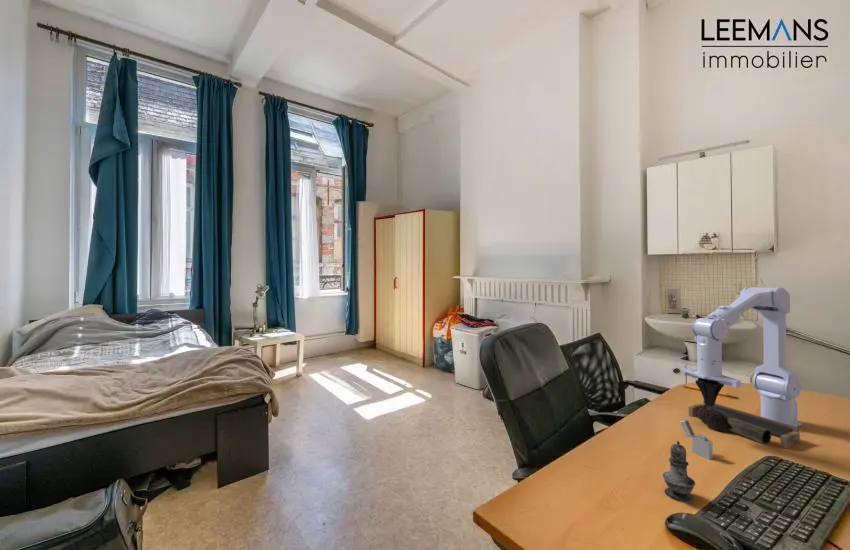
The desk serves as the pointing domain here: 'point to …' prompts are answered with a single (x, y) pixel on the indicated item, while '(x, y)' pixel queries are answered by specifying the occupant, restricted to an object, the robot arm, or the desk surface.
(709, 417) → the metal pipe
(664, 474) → the salt shaker
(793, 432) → the bearing cradle
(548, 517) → the desk surface
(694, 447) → the lighter
